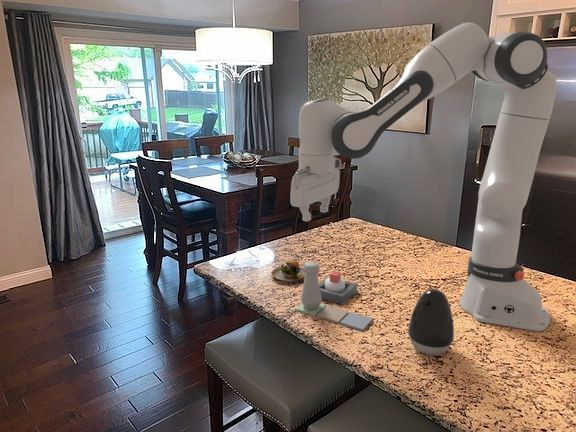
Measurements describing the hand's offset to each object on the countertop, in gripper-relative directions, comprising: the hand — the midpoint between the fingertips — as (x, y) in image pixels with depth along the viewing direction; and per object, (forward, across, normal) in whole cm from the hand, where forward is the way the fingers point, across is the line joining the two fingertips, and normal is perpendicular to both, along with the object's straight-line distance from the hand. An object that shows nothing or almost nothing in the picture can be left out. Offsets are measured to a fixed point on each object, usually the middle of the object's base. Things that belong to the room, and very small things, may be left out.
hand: (315, 216), depth 115 cm
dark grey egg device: (+27, -4, -33) cm, 43 cm away
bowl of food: (+27, +14, +17) cm, 35 cm away
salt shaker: (+26, -1, +1) cm, 26 cm away
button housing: (+27, +11, -1) cm, 29 cm away
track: (+27, -1, -6) cm, 28 cm away
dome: (+26, +11, -1) cm, 28 cm away
